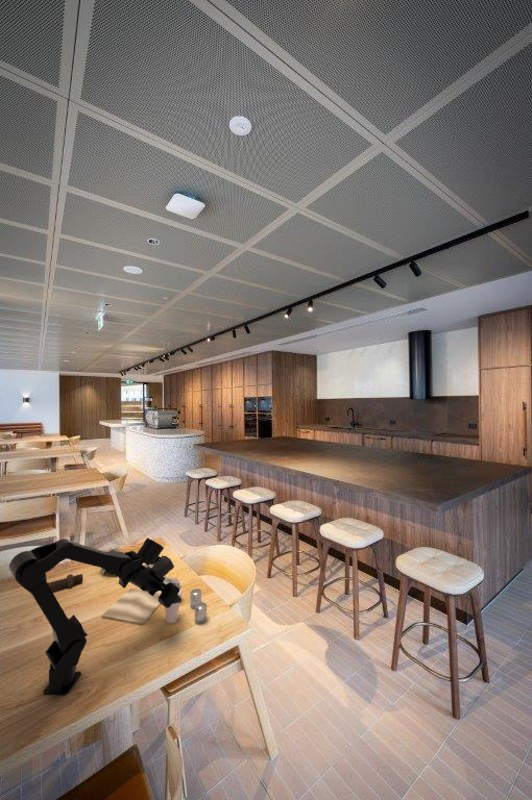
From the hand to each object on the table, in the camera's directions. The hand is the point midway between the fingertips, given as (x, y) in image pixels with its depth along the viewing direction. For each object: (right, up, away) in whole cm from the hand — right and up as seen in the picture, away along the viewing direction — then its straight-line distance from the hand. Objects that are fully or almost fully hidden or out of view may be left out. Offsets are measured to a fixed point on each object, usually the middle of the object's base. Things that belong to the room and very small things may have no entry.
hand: (173, 594), depth 112 cm
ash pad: (-15, -8, +7) cm, 19 cm away
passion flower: (-35, -8, +30) cm, 47 cm away
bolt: (-49, -8, +17) cm, 53 cm away
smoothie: (0, -9, 0) cm, 9 cm away
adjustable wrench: (-12, -9, +26) cm, 30 cm away
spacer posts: (+5, -8, +6) cm, 12 cm away
